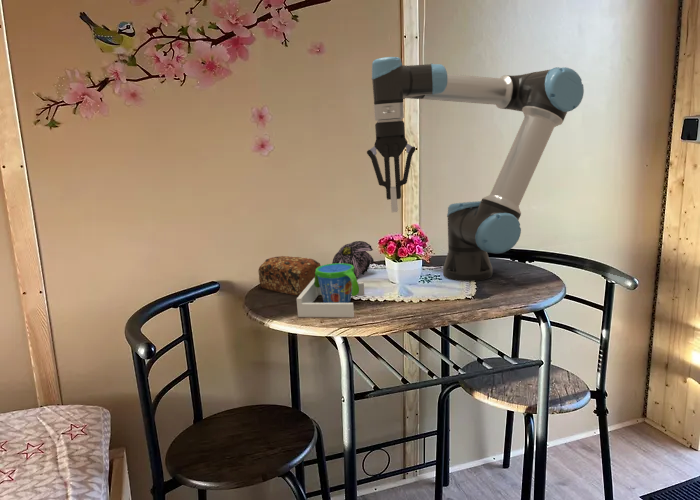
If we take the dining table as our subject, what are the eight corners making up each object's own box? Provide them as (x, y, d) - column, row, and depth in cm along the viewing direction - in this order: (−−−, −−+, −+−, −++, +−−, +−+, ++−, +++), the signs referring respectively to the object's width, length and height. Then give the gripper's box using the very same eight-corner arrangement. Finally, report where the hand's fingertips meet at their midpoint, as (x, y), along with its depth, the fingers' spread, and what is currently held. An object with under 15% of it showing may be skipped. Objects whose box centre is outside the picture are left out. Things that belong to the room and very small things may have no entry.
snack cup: (305, 301, 154) (302, 266, 152) (335, 293, 161) (333, 259, 159) (339, 314, 142) (336, 276, 140) (369, 304, 149) (367, 268, 147)
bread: (324, 289, 166) (322, 257, 164) (298, 298, 158) (295, 265, 156) (284, 280, 178) (281, 250, 176) (258, 288, 171) (255, 257, 168)
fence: (364, 293, 158) (363, 277, 157) (353, 317, 139) (352, 298, 138) (315, 294, 161) (314, 277, 160) (298, 317, 142) (296, 298, 141)
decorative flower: (317, 247, 178) (354, 228, 184) (323, 275, 185) (358, 255, 191) (343, 266, 168) (381, 245, 174) (348, 295, 174) (385, 273, 181)
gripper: (362, 123, 138) (369, 215, 143) (414, 119, 136) (419, 212, 142) (365, 122, 145) (371, 210, 151) (415, 119, 143) (419, 207, 149)
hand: (394, 211), depth 146 cm, fingers closed
